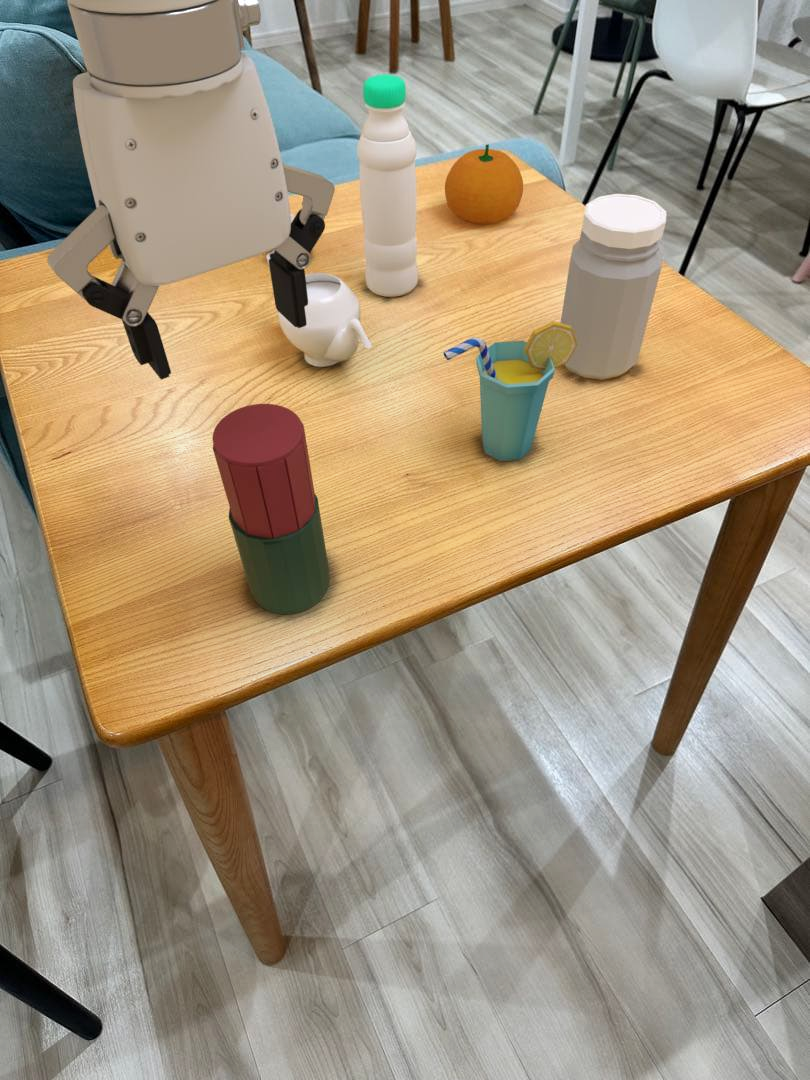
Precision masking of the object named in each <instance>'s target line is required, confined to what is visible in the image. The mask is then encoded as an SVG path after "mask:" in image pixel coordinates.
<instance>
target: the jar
mask: <svg viewBox="0 0 810 1080" xmlns="http://www.w3.org/2000/svg"><path fill="white" fill-rule="evenodd" d="M584 207H585V208H584V211H583V212H584V213H583V219H582V226H581V232H580V237H579V239H578V240H577V241H576V242H575V243H574V244H573V245H572V248H571V253H570V260H569V265H568V272H567V279H566V285H565V292H564V298H563V305H562V312H561V315H560V316H561V318H560V323H562V324H566V325H569V326H571V327H572V329H573V332H574V335H575V338H576V341H577V344H578V345H577V347H576V349H575V351H574V352H573V354H572V356H571V358H570V359H569V361H568V363H565V364H563V365H564V367H566V369H567V370H568V371H570V372H571V373H573V374H575V375H578V376H580V377H581V378H585V379H591V380H599V381H603V380H607V379H608V380H609V379H613V378H618V377H620V376H622V375H623V374H625V373H626V372H628V371H629V370H630V369H631V368H633V367H634V366H635V365H636V364H637V363H638V360H639V358H640V357H639V356H640V353H641V348H642V346H643V341H644V337H645V333H646V331H647V325H648V322H649V318H650V314H651V310H652V305H653V303H654V297H655V294H656V291H657V286H658V282H659V278H660V275H661V271H662V268H663V253H662V251H661V249H660V248H661V239H662V238H663V235H664V231H665V228H666V223H667V211H666V210H665V209H664V208H663V207H662V206H661V205H660V204H659V203H658V202H656V201H655V200H652V199H650V198H648V197H647V198H646V197H643V196H640V195H637V194H628V193H627V194H626V193H614V194H607V195H601V196H600V195H599V196H598V197H596V198H594V199H592V200H591V201H589V202H587V203H586V204H585V206H584Z"/></svg>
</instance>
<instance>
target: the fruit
mask: <svg viewBox="0 0 810 1080" xmlns="http://www.w3.org/2000/svg"><path fill="white" fill-rule="evenodd" d="M523 194H524V180H523V176H522V173H521V171H520V168H519V166H518V165H517V163H516V162H515V160H513V159H512V158H511V157H510V156H509V155H508V154H507V153H505V152H503V151H501V150H497V149H491V148H490V144H486V145H485V148H479V149H473V150H470V151H467V152H465V153H464V154H463V155H462V156H460V157H459V158H458V159H457V160H456V161H455V162H454V163H453V165H452V166H451V168H450V170H449V171H448V174H447V176H446V178H445V183H444V195H445V200H446V203H447V204H446V205H447V206H448V208H449V209H450V210H451V212H452V213H453V214H454V215H455V216H456V217H458V218H459V219H461V220H463V221H464V222H468V223H471V224H479V225H487V224H489V225H490V224H495V223H498V222H501V221H503V220H506V219H507V218H509V217H510V216H512V214H513V213H515V212H516V211H517V209H518V208H519V205H520V204H521V200H522V197H523Z"/></svg>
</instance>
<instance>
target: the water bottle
mask: <svg viewBox="0 0 810 1080" xmlns="http://www.w3.org/2000/svg"><path fill="white" fill-rule="evenodd" d="M406 89H407V88H406V83H405V81H404V79H403V78H401V77H400V76H397V75H394V74H386V73H384V74H376V75H372V76H370V77H368V78H367V79H366V80H365V81H364V83H363V86H362V97H363V102H364V107H365V108H366V109H367V111H368V115H367V118H366V120H365V121H364V124H363V127H362V131H361V134H360V137H359V139H358V142H357V148H356V154H357V159H358V161H359V198H360V211H361V222H362V229H363V233H364V235H363V254H364V258H365V267H364V268H365V269H364V271H365V272H364V275H365V276H364V277H365V283H366V284H365V285H366V287H367V288H368V289H369V290H370V291H371V292H372V293H373V294H375V295H378V296H381V297H387V298H397V297H401V296H404V295H407V294H409V293H411V292H412V291H413V290H414V289H415V288H416V287H417V285H418V282H419V281H418V280H419V272H418V261H417V257H418V238H417V233H416V232H417V231H416V230H417V218H418V217H417V216H418V215H417V214H418V189H417V185H418V183H417V171H416V161H415V160H416V157H417V143H416V141H415V138H414V136H413V133H412V131H411V130H410V128H409V127H410V126H409V124H408V121H407V120H406V118H405V117H404V115H403V108H404V107H405V105H406V97H407V95H406V94H407V91H406Z"/></svg>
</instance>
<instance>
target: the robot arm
mask: <svg viewBox="0 0 810 1080" xmlns="http://www.w3.org/2000/svg"><path fill="white" fill-rule="evenodd" d="M66 3H67V6H68V10H69V14H70V17H71V21H72V24H73V27H74V30H75V34H76V38H77V41H78V44H79V48H80V51H81V55H82V58H83V62H84V64H85V68H86V72H83V73H80V74H77V75H76V76H75V77H74V78H73V80H72V88H73V90H72V91H73V99H74V108H75V114H76V120H77V127H78V132H79V137H80V143H81V147H82V153H83V157H84V158H83V159H84V162H85V166H86V170H87V174H88V179H89V183H90V186H91V187H90V188H91V192H92V195H93V199H94V203H95V209H94V210H93V211H92V212H91V213H90V214H89V215H88V216H87V217H86V218H85V219H83V221H81V223H80V224H79V225H78V226H77V227H76V228H75V229H74V230H73V231H71V233H70V234H68V235H67V236H66V238H64V239H63V241H61V242H60V243H59V244H58V245H57V246H56V247H55V248H54V249H53V250H52V251H51V252H50V253H49V254H48V255H47V260H46V261H47V264H48V265H49V267H50V268H51V269H52V271H53V272H54V274H55V275H56V276H57V277H58V278H59V279H60V280H61V281H63V282H64V283H65V284H66V285H67V286H68V287H69V288H70V289H72V290H73V291H74V292H75V293H76V294H77V295H79V296H80V297H81V298H82V299H83V300H84V301H86V303H87V304H88V305H89V306H91V307H93V308H95V309H97V310H100V311H101V312H104V313H106V314H109V315H111V316H113V317H115V318H117V319H120V320H121V321H122V324H123V328H124V330H125V334H126V337H127V340H128V343H129V345H130V348H131V351H132V354H133V355H134V357H135V359H136V361H137V363H139V365H140V366H143V365H146V364H148V365H149V366H150V367H151V369H152V370H153V371H154V373H155V374H156V375H157V376H158V378H159V379H160V380H161V381H162V380H164V379H168V378H170V375H171V374H172V370H171V367H170V364H169V360H168V356H167V354H166V353H167V352H166V350H165V347H164V343H163V339H162V337H161V332H160V330H159V327H158V324H157V322H156V320H155V319H154V318H153V316H151V314H150V313H149V309H150V308H151V305H152V304H153V301H154V299H155V296H156V295H157V292H158V290H159V288H160V287H161V286H167V285H171V284H174V283H177V282H180V281H181V282H182V281H185V280H187V279H190V278H194V277H197V276H199V275H203V274H206V273H209V272H212V271H216V270H218V269H222V268H224V267H227V266H228V267H229V266H230V265H234V264H237V263H241V262H243V261H246V260H249V259H252V258H255V257H258V256H261V255H264V254H267V253H268V252H269V253H270V252H271V253H272V251H273V250H275V251H274V253H272V254H270V259H269V266H268V268H269V267H270V269H269V272H270V273H269V274H270V278H271V279H270V280H271V287H272V293H273V298H274V305H275V309H276V311H277V312H278V311H279V312H280V313H281V314H282V315H283V316H284V317H285V318H286V319H287V320H288V321H289V322H290V323H291V324H292V325H293V326H294V327H298V328H301V327H304V326H306V324H307V323H306V314H305V306H307V305H308V296H307V287H306V278H305V275H306V271H305V269H307V268H308V267H309V266H310V264H311V261H312V255H311V252H312V251H313V249H314V248H315V246H316V244H317V243H318V241H319V240H320V238H321V236H322V235H323V234H324V231H325V230H326V222H325V218H326V216H328V213H329V211H330V207H331V204H332V201H333V197H334V194H335V190H336V188H335V185H334V183H333V182H332V181H330V180H329V179H327V178H326V177H324V175H323V176H322V175H321V174H318V173H315V172H311V171H309V170H305V169H301V168H299V167H295V166H291V165H289V164H286V163H283V160H282V155H281V151H280V145H279V143H278V138H277V134H276V129H275V126H274V122H273V119H272V115H271V111H270V108H269V104H268V101H267V98H266V95H265V92H264V88H263V85H262V82H261V79H260V76H259V73H258V70H257V67H256V65H255V62H254V60H253V59H252V57H250V56H249V55H247V54H246V53H245V52H244V50H245V43H244V35H243V34H244V31H248V29H249V27H253V26H258V25H259V24H260V23H261V20H262V14H261V13H262V12H261V6H260V4H259V1H258V0H66ZM289 193H290V194H295V195H298V196H302V202H301V208H300V209H299V210H298V211H297V213H296V214H295V215H296V216H295V218H294V219H293V221H292V223H291V215H290V214H291V207H290V206H291V205H290V199H289V198H290V197H289ZM107 247H108V249H109V250H110V252H111V254H112V256H113V257H114V258H115V259H116V260H121V262H120V264H119V266H118V269H117V271H116V272H115V274H114V275H115V276H114V278H113V280H112V283H109V282H108V281H107V282H106V281H105V280H103V279H101V278H98V277H97V276H94V275H93V274H91V273H90V272H89V271H88V268H89V265H90V263H91V262H93V260H95V259H96V258H97V257H98V256H99V255H100V254H101V253H102V252H103V251H104V250H105V249H106V248H107Z"/></svg>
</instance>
